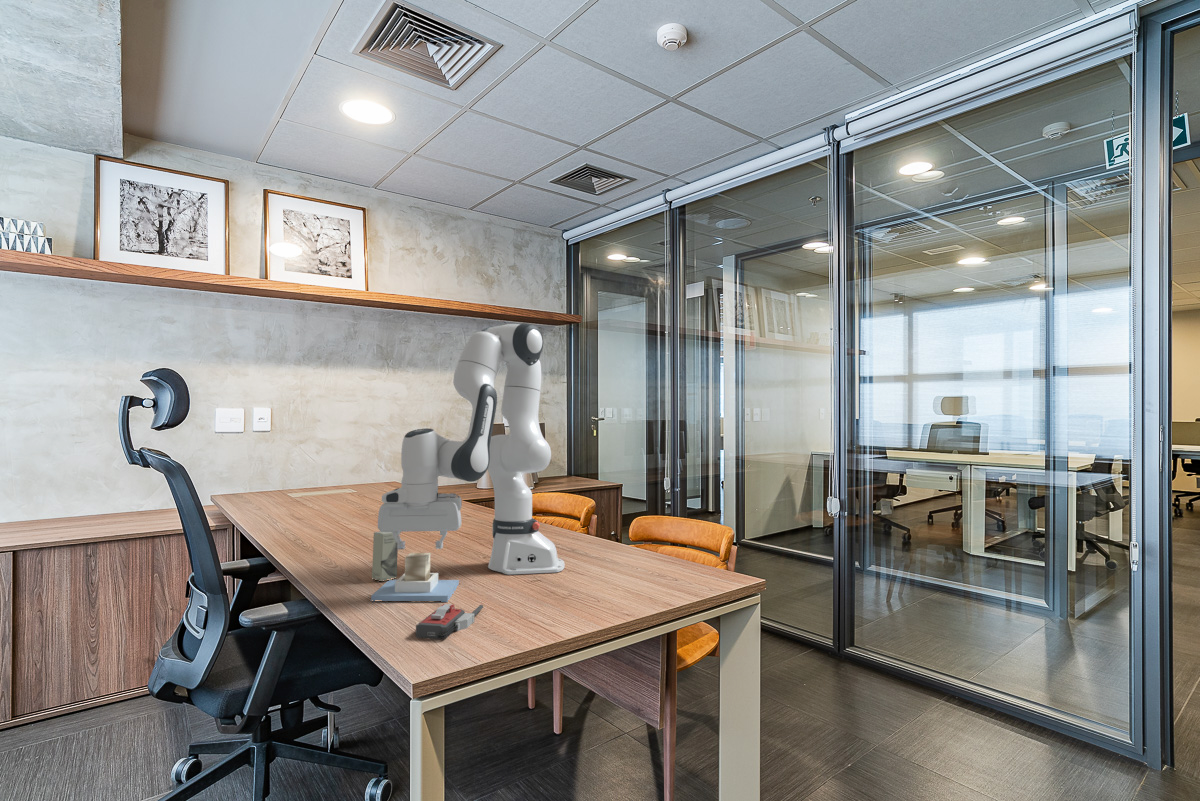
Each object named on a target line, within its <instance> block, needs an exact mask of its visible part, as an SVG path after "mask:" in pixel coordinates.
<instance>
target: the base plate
mask: <svg viewBox="0 0 1200 801" xmlns="http://www.w3.org/2000/svg"><path fill="white" fill-rule="evenodd" d="M459 583H460V580H459V579H439V572H430V579H429V580H428V581H405V572H404V573H403V574H402V575H401V576H400V577H399V578H397V579H393V580H389V581H385V583H384V584H383V585H382V586H380V587H379V588H378V589H377V590H375V592H373V593H372V595H371V596H370V602H371V601H372V600H373V601H375V600H382V601H441V602H440V603H448V602H449V601H450V599H451V598H452V596H453V595H454V593H455V592H456V591H457V589H458V588H457V586H458V585H459V586H460V584H459ZM459 586H458V587H459ZM456 588H457V589H456ZM454 591H455V592H454ZM452 594H453V595H452ZM450 597H451V598H450ZM448 600H449V601H448Z"/></svg>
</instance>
